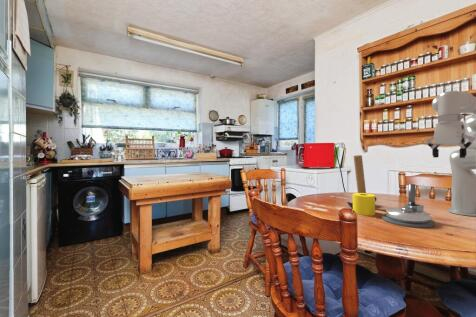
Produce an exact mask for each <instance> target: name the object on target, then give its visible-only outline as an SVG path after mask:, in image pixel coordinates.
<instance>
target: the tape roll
mask: <svg viewBox="0 0 476 317" xmlns="http://www.w3.org/2000/svg"><path fill="white" fill-rule="evenodd" d="M375 197H376V195H375V194H372V193H367V192H366V193H358V192H354V193H352V203H353V208H352V211H353V210H354V211H355V212H356V213H357V214H356V215H359V216H365V217H366V216H367V217H369V216H371V217H373V216H375V215H376V201H375Z"/></svg>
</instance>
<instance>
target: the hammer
mask: <svg viewBox="0 0 476 317" xmlns="http://www.w3.org/2000/svg"><path fill="white" fill-rule="evenodd" d="M353 164H354V171H355V179H356V180H355V181H356V190H357V193H367V190H366V189H367V188H366V181H365V172H364V162H363V155H361V154H356V155H353ZM377 200H378V199H377V197H376V196H375V202H376V201H377ZM346 203H347V204H348V207H349V208H351V209H353V202H350V201H349V202H348V201H346Z"/></svg>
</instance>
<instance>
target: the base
mask: <svg viewBox="0 0 476 317" xmlns="http://www.w3.org/2000/svg"><path fill="white" fill-rule="evenodd" d="M381 219H382V220H383V221H385V222H387V223H390V224H393V225H396V226H401V227H405V228H406V227H407V228H417V229H426V228H427V229H429V227H430V228H433V227H435V226H436V224H435V221H434V220H433V219H431V218H430V222H429V223H426V224H412V223H404V222H399V221H395V220H391V219H389V218H387V217H386V213H383V214H382V216H381Z"/></svg>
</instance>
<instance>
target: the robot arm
mask: <svg viewBox="0 0 476 317" xmlns="http://www.w3.org/2000/svg"><path fill="white" fill-rule="evenodd" d="M431 108H432V109H433V111H434V112H436V113H437V123H436V124H435V127H434V133H433V136H431V137H429V138H427V139H426V140H425V142H426V145H427V146H428V147H430V149H431V150H432V151H431V152H432V157H433V158H439V152H440V150H439V147H440V146H442V145H443V146H445V145H446V146H447V145H448V146H449V145H457V146H459V147H460V148H459V149H457V150H453V151H452V152H451V153H450V154H449V162H450V163H449V164H450V170H451V207H448V208H447V213H448V212H449V213H451V214H454V215H455V214H456V215H460V216H466V217H467V216H469V217H476V173H475V172H474V171H473V170H476V96H474V95H473V94H472V92H471V93H470V92H468V91H458V90H448V91H444V92H441V93H439V94H438V96H437V97H435V98H433V100H432V102H431ZM462 114H463V115H462ZM464 114H465V115H466V114H467V115H471V116H469V117H467V118H466V117H465V115H464ZM462 119H464V121H462ZM432 142H433V143H432Z"/></svg>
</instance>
